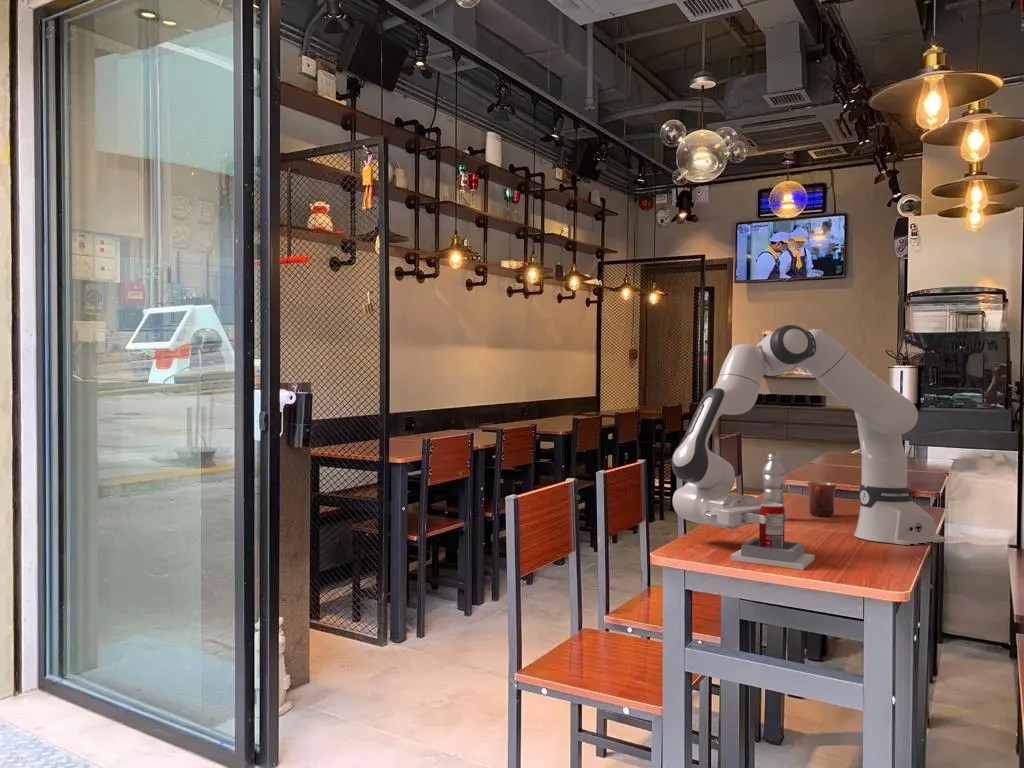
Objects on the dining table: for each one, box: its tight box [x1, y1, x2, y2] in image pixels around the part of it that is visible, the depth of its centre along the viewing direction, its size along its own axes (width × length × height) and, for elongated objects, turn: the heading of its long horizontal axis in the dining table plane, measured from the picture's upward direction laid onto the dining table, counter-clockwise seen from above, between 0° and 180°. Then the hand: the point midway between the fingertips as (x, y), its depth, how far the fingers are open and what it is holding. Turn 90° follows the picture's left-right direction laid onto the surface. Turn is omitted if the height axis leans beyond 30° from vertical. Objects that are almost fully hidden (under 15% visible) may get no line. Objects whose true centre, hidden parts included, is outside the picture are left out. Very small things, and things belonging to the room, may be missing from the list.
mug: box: [806, 481, 838, 518], centre depth 242 cm, size 12×9×10 cm
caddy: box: [730, 537, 815, 571], centre depth 179 cm, size 12×16×4 cm
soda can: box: [758, 503, 786, 549], centre depth 179 cm, size 6×6×12 cm
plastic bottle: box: [762, 452, 786, 511], centre depth 236 cm, size 6×7×20 cm
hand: (776, 518), depth 178 cm, fingers closed on soda can, 5 cm apart
